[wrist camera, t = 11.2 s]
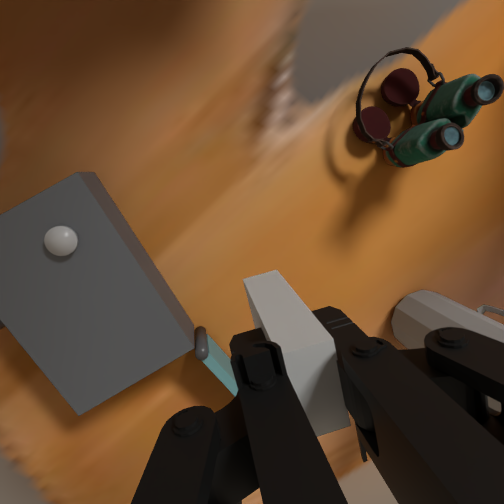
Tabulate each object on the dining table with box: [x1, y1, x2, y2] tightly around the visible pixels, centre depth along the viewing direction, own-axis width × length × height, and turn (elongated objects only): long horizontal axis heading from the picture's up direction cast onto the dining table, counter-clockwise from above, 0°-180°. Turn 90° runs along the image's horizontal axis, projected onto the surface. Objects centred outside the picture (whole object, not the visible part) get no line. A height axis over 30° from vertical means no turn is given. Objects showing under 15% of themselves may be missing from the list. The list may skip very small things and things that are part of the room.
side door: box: [195, 326, 238, 396], centre depth 39 cm, size 2×13×5 cm, turn 38°
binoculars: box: [353, 47, 504, 167], centre depth 34 cm, size 9×11×10 cm
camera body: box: [0, 172, 194, 416], centre depth 34 cm, size 18×14×6 cm
